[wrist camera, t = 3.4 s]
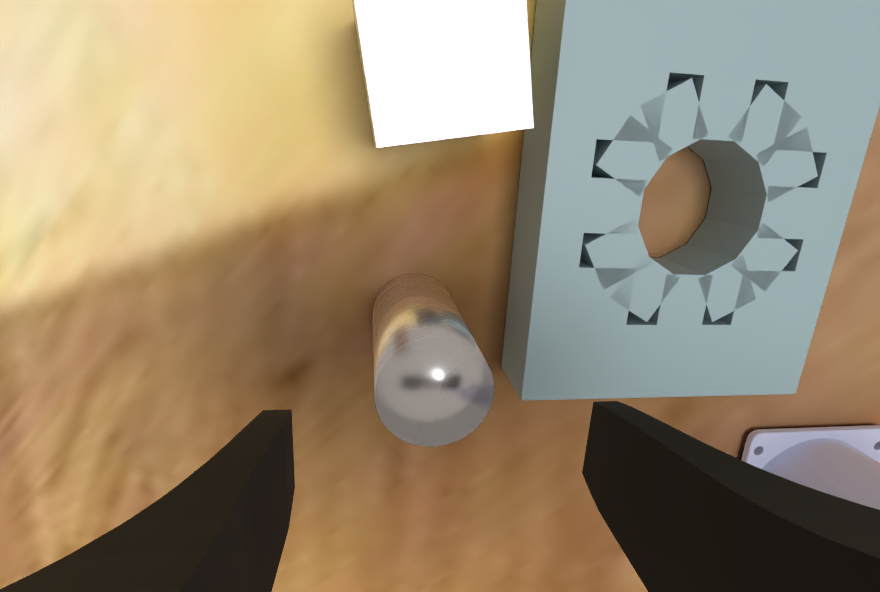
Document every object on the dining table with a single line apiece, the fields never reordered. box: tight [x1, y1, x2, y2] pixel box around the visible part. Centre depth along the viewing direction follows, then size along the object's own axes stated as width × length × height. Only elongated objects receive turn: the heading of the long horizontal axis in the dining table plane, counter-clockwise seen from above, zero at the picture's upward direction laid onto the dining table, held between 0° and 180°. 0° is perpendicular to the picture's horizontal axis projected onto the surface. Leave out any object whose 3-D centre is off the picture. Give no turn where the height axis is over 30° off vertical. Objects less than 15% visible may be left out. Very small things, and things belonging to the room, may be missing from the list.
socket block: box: [501, 0, 880, 400], centre depth 19 cm, size 15×12×3 cm
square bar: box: [352, 0, 534, 148], centre depth 15 cm, size 4×4×6 cm
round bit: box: [373, 274, 494, 447], centre depth 17 cm, size 3×3×7 cm
